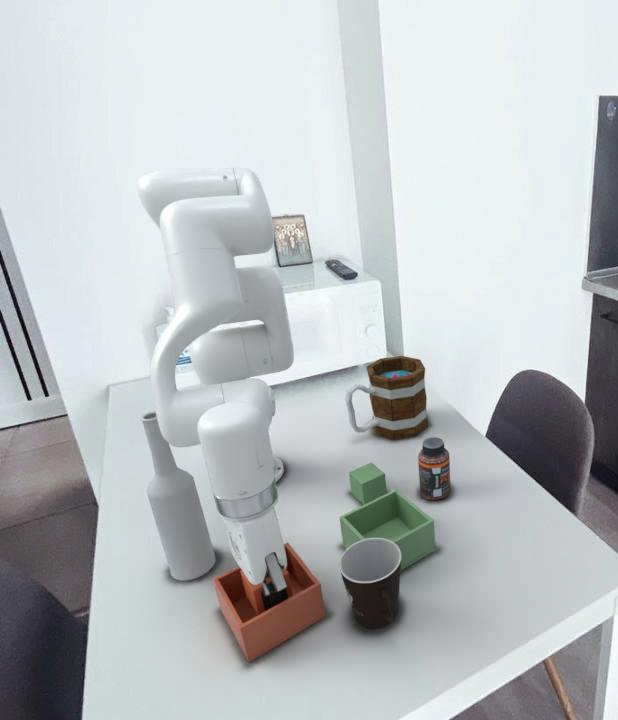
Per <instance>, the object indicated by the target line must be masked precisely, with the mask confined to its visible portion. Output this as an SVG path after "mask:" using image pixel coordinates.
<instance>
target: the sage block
mask: <svg viewBox="0 0 618 720" xmlns="http://www.w3.org/2000/svg"><path fill="white" fill-rule="evenodd" d="M348 477H349V486H350V493H351V495H352V496H353V497H354V498H355V499H357V500H358V502H360V503H361V504H362V506H363V505H365V504H367V503H369V502H371V501H373V500H375V499H377V498H379V497H381V496H383V495H385V494H387V493H388V491H387V490H388V489H387V477H386V473H385V472H384V471H382V469H381V468H379V467H378V466H377V465H375V464H374V463H373V462H368V463H366V464H364V465H362V466H360V467H358V468H355V469H352V470H351V471H348Z"/></svg>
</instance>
